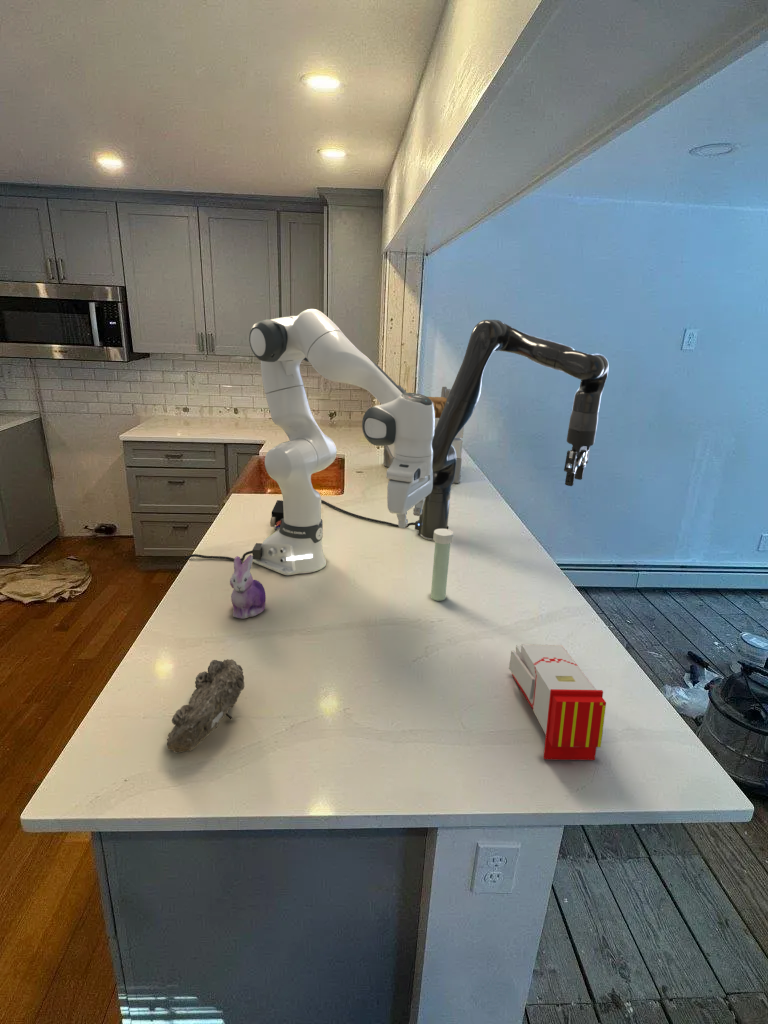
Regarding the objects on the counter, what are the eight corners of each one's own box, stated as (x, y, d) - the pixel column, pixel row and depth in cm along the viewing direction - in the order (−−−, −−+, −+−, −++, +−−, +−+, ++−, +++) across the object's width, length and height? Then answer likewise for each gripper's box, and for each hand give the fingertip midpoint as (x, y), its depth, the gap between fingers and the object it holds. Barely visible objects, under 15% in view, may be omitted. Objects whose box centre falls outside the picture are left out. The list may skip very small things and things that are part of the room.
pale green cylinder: (442, 593, 159) (448, 530, 153) (447, 600, 156) (453, 536, 149) (429, 594, 159) (434, 531, 152) (433, 601, 155) (438, 536, 148)
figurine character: (289, 537, 196) (294, 517, 209) (288, 517, 193) (294, 498, 206) (269, 536, 196) (276, 516, 209) (268, 517, 192) (275, 498, 206)
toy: (558, 627, 126) (616, 698, 97) (552, 682, 129) (607, 767, 99) (504, 626, 126) (545, 697, 96) (499, 681, 128) (538, 766, 99)
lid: (449, 536, 154) (449, 528, 153) (455, 543, 149) (456, 535, 149) (430, 537, 153) (431, 528, 152) (436, 544, 148) (437, 536, 148)
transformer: (382, 463, 289) (386, 382, 275) (445, 464, 293) (451, 384, 279) (390, 482, 257) (394, 392, 243) (460, 483, 261) (468, 394, 247)
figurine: (235, 623, 139) (232, 568, 134) (225, 604, 148) (222, 552, 143) (272, 616, 143) (271, 562, 138) (261, 598, 152) (259, 546, 147)
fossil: (192, 660, 117) (244, 628, 112) (224, 691, 120) (276, 661, 115) (142, 746, 98) (202, 712, 93) (182, 779, 101) (242, 748, 96)
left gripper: (416, 454, 142) (414, 506, 147) (383, 473, 124) (381, 531, 129) (440, 457, 140) (437, 510, 144) (409, 477, 122) (406, 536, 126)
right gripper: (577, 422, 167) (568, 474, 173) (561, 428, 156) (552, 484, 162) (603, 425, 163) (593, 479, 169) (588, 433, 152) (578, 490, 158)
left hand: (410, 520), depth 136 cm, fingers open, 8 cm apart
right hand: (573, 482), depth 165 cm, fingers open, 8 cm apart
